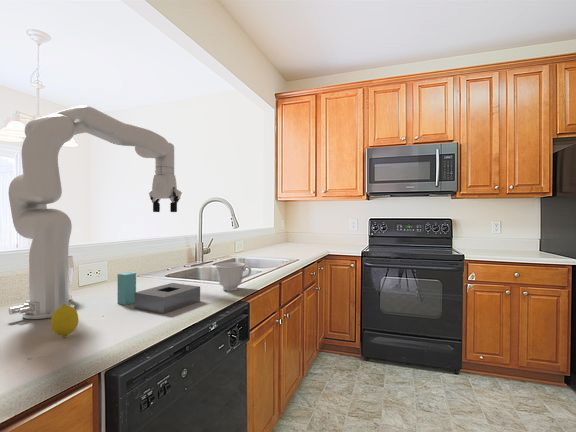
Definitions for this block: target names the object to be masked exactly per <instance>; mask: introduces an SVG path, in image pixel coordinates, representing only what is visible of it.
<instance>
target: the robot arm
mask: <svg viewBox="0 0 576 432" xmlns="http://www.w3.org/2000/svg"><path fill="white" fill-rule="evenodd" d="M84 133H85V134H89V135H92V136H94V137H97V138H99V139H101V140H104V141H106V142H109V143H111V144H113V145H117V146H122V147H123V146H124V147H125V146H126V147H134V150H135V153H136V154H137V155H138V156H139V157H141V158H143V159H155V162H154V163H155V167H154V168H155V170H154V173H155V174H154V176H153V179H152V186H151V191H149V192H148V195H149V199H150V200H151V203H152V212H153V213H160V212H161V207H160V206H161V205H160V201H161V199H169V200H170V201H171V202H170V204H169V205H170V209H169V210H170V213H177V212H178V203H179V200H181V197H182V193H183V192H182V191H181V190H179V189H177V188H178V187H177V186H178V185H177V179H176V175H175V146H174V144H173V143H172V142H168V140H167V139H166V138H165V137H163V136H162V135H161V134H158V133H157V132H155V131H153V130H151V129H147V128H144V127H139V126H137V125H134V124H133V125H132V124H129V123H125V122H122V121H120V120H118V119H117V118H114V117H112V116H110V115H108V114H106V113H105V112H102V111H100V110H98V109H97V108H94V107H93V106H89V105H79V106H74V107H70V108H66V109H64V110H60V111H58V112H55V113H51V114H48V115H44V116H41V117H38V118H35V119H31V120H30V121H28V122H27V123H26V124H25V127H24V135H25V138H24V140H23V143H22V145H21V165H22V174H20V175H17V176H16V177H14V178H13V179H12V180H11V182H10V183H9V186H8V193H7V194H8V200H9V207H10V212H11V213H10V215H11V218H12V224H13V227H14V229H15V231H16V232H17V233H18V235H20V236H21V237H23V238H26V239H30V240H31V244H30V247H29V253H28V263H29V264H28V267H29V268H28V274H29V275H28V282H29V283H28V285H29V289H28V291H29V292H28V294H29V296H28V297H29V298H28V300H27V299H26V300H25V302H24V303H22V304H21V305H19V306H18V305H17V306H13V307H12V306H11V307H9V308H8V314H9V315H11V316H12V315H14V314H18V313H19V314H20V315H22V318H23V319H26V320H43V319H51V318H52V315H53V313H54V312H55V311H56V310H57V309H58V308H60V307H62V306H63V305H67V306H71V307H73V308H74V309H75V305H74V304H72V303H69V301H68V256H69V248H70V247H69V246H70V238H71V234H72V230H73V229H72V228H73V227H72V226H73V225H72V224H73V223H72V220H71V218H70V216H69V215H68V213H65V212H64V211H62V210H60V209H57V208H48V207H47V205H48V204H49V205H50V204H54V203H57V201H59V200H60V199H61V197H62V193H63V190H62V189H63V188H62V183H61V176H60V167H59V152H60V150H61V148H62V147H63V145H65V144H66V143H67V142H69V141H71V140H72V138H73V137H74V136H76V135H80V134H84Z"/></svg>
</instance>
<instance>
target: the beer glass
mask: <svg viewBox="0 0 576 432" xmlns="http://www.w3.org/2000/svg"><path fill="white" fill-rule="evenodd" d="M73 257H74V256H72V255H68V302H69V301H72V299H73V295H72V291H71V288H72V283H73V278H74V258H73Z"/></svg>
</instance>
